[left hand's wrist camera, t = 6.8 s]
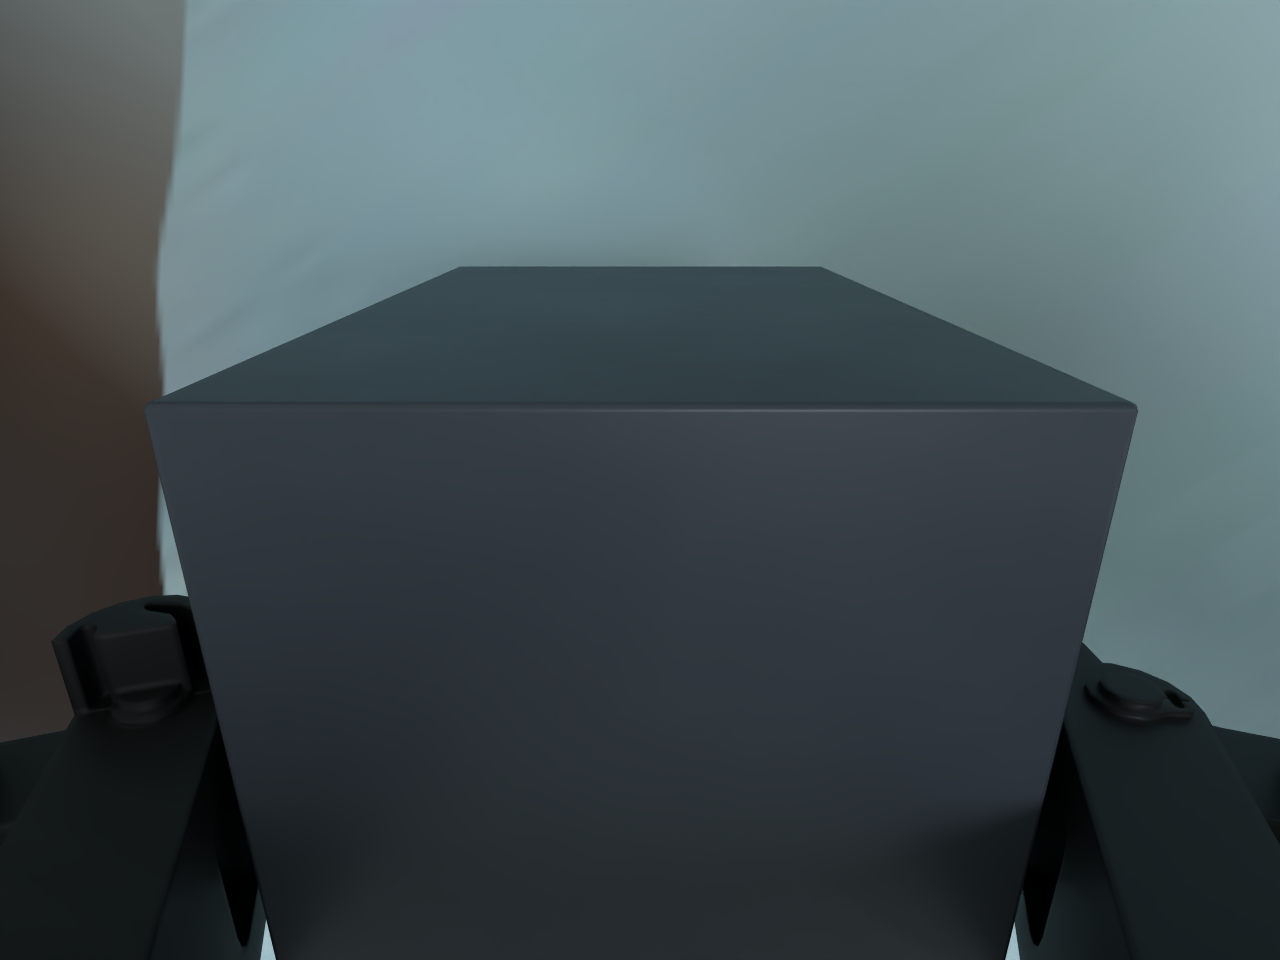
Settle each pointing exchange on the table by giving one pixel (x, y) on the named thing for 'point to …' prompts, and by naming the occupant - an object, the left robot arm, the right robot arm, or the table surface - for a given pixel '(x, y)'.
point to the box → (640, 615)
